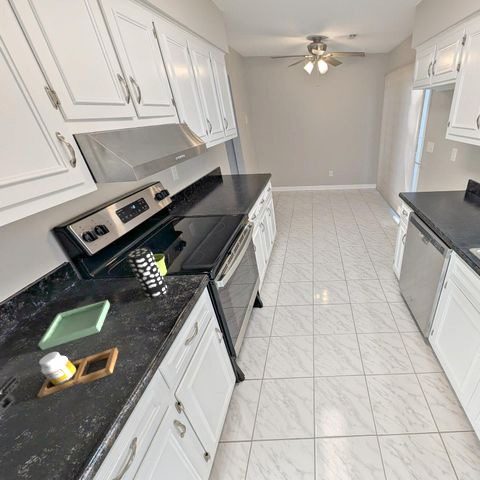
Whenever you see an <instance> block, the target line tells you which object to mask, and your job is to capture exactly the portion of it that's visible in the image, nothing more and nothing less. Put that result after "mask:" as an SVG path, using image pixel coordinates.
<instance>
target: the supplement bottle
mask: <svg viewBox="0 0 480 480" xmlns="http://www.w3.org/2000/svg"><path fill="white" fill-rule="evenodd" d="M38 364H39V366H41V370H40V371H41V373H42V375H44V376H45V377H46V378H48V379H49V380H50V381H51V384H52V385H53V386H57V385H60V384H63V383H65V382H68V381H71V380H74V377H75V375H76V373H77V370H78V368H76V366H73V364H72V363H71V361H70V359H68V357H67V356H65V355H61V354H60V353H59V351H51V352H49V353H46V354H45V355H44V356H42V358H41V359H40V360H39V361H38Z"/></svg>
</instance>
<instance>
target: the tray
mask: <svg viewBox="0 0 480 480" xmlns="http://www.w3.org/2000/svg"><path fill="white" fill-rule="evenodd" d="M110 306H111V303H110V301H109V300H108V299H105V300H102V301H98V302H95V303H91V304H88V305H84V306H81V307H77V308H74V309H70V310H67V311H64V312H60V313H57V314H56V316H55V318H53V321H52V322H51V324H50V325H49V326H48V328H47V330H46V331H45V333H44V334H43V336H42V337H41V339H40V341H39V343H38V344H37V346H38V347H39V348H40V349H41V350H42V351H44V350H47V349H51V348H54V347H56V346H59V345H63V344H66V343H70V342H72V341H76V340H78V339H82V338H84V337H87V336H91V335H94V334H98V333H100V332H101V330H102V327H103V325H104V322H105V319H106V318H107V317H106V316H107V314H108V312H109V309H110Z"/></svg>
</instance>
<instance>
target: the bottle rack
mask: <svg viewBox="0 0 480 480" xmlns="http://www.w3.org/2000/svg"><path fill="white" fill-rule="evenodd" d="M118 353H119V350H118V348H117V347H112V348H109V349H107V350H103V351H101V352H97V353H95V354H92V355H88V356H87V357H86V356H85V357H83V358H80V359H78V360H74V361H72V362H71V361H70V362H71V363H72V364H73V366H74V367H77V366H78V368H77V373H76V375H75V377H74V378H73V379H71V380H70V381H68V382H65V383H63V384H60V385H57V386H55V385H53V386H51V384H52V382H51V381H50V380H49V379H48V378H47V377H46V379H44V382H43V384H42V386H41V388H40V390H39V392H38V393H37V397H38V398H39V399H40V398H43V397H46V396H48V395H51V394H53V393H57V392H58V391H61V390H64V389H67V388H70V387H72V386H75V385H78V384H80V383H81V386H83V385H86V384H89V383H91V382H93V381H96V380H99V379H101V378H104V377H107V376H110V375H113V372H114V368H115V365H116V361H117V359H118ZM105 359H107V362H106V363H105V364H106V365H105V367H104V368H102V369H99V370H96V371H93V372H90V373H88V374H85V375H83V374H84V371H85V369H86V367H87V365H88V363H89V364H90V365H92V364H93V363H96V362H100V361H102V360H105ZM50 386H51V387H50Z"/></svg>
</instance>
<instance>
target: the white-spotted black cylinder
mask: <svg viewBox="0 0 480 480" xmlns="http://www.w3.org/2000/svg"><path fill="white" fill-rule="evenodd" d="M153 255H154V254H153V252H152V249H151V248H150V247H147V246H144V247H139V248H135V249H133V250H131V251H129V252H127V253H126V254H125V258H126V260H127V262H128V264H129V266H130V268H131V270H132V272H133V275H134V277H135V278H136V280H137V282H138V284H139V287H140V288H141V291H142V292H143V294H144V296H145V298H146V299H148V300H152V299H156V298H160V297H162V296H164V295H165V294H166V293H167V291H168V290H169V289H168V286H167V283H166V281H165V279H164V276H162V275H161V272H160V270H159V268H158V266H157V263H156V261H155V259H154V256H153Z"/></svg>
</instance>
